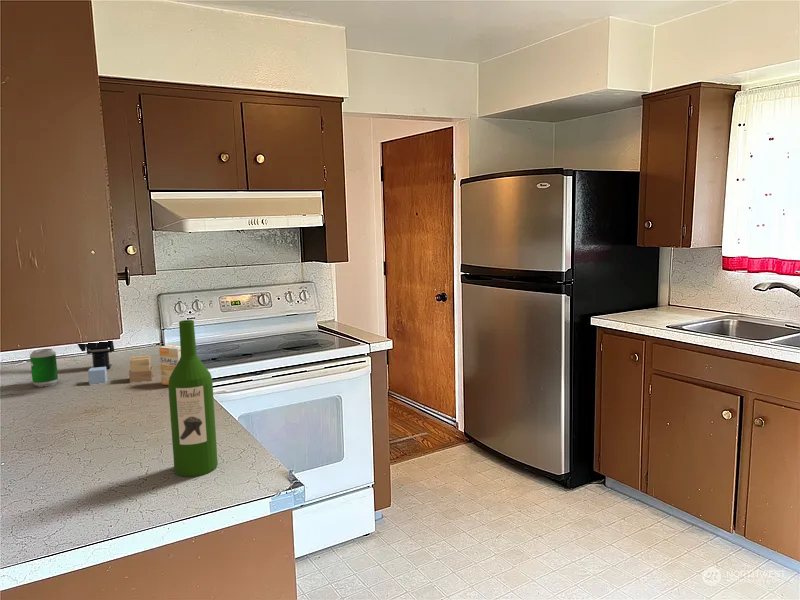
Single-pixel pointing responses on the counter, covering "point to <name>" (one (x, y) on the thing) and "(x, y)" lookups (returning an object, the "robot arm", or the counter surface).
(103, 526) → the counter surface
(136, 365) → the oak block
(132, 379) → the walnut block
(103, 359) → the robot arm
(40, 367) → the soda can
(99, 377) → the blue cube
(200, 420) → the wine bottle
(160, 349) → the supplement box
